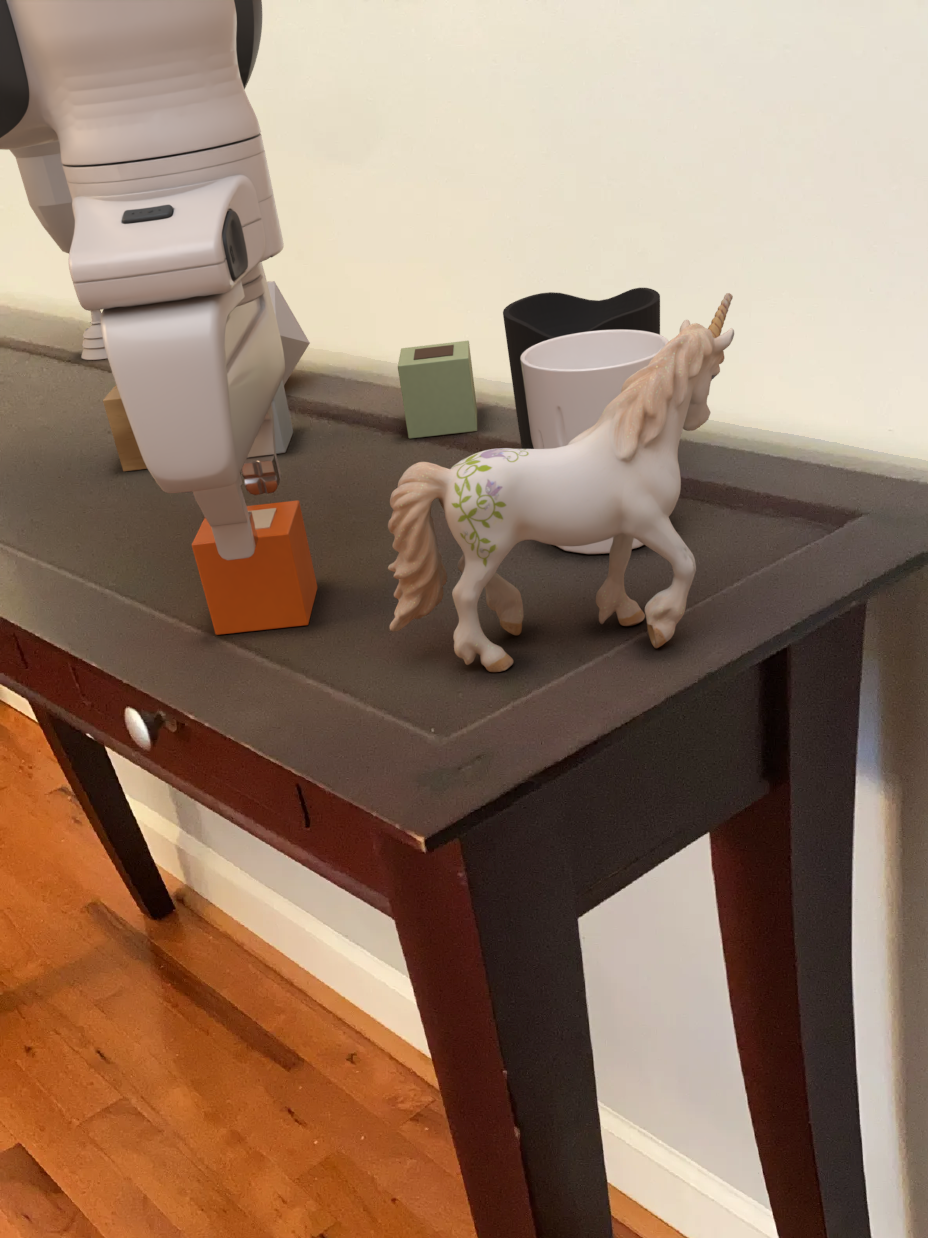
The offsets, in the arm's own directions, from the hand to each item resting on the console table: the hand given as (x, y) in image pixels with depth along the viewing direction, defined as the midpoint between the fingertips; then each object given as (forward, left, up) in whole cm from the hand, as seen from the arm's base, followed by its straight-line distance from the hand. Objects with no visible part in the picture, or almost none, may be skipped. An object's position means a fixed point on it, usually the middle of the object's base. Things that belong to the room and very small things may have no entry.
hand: (253, 520), depth 66 cm
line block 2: (-5, +31, -5) cm, 32 cm away
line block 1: (-12, +31, -5) cm, 34 cm away
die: (-7, +47, -5) cm, 48 cm away
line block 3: (+9, +31, -5) cm, 32 cm away
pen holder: (+19, +17, -5) cm, 26 cm away
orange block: (0, 0, -5) cm, 5 cm away
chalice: (-25, +68, -5) cm, 73 cm away
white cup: (+19, +6, -5) cm, 20 cm away
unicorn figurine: (+16, -5, -5) cm, 18 cm away
